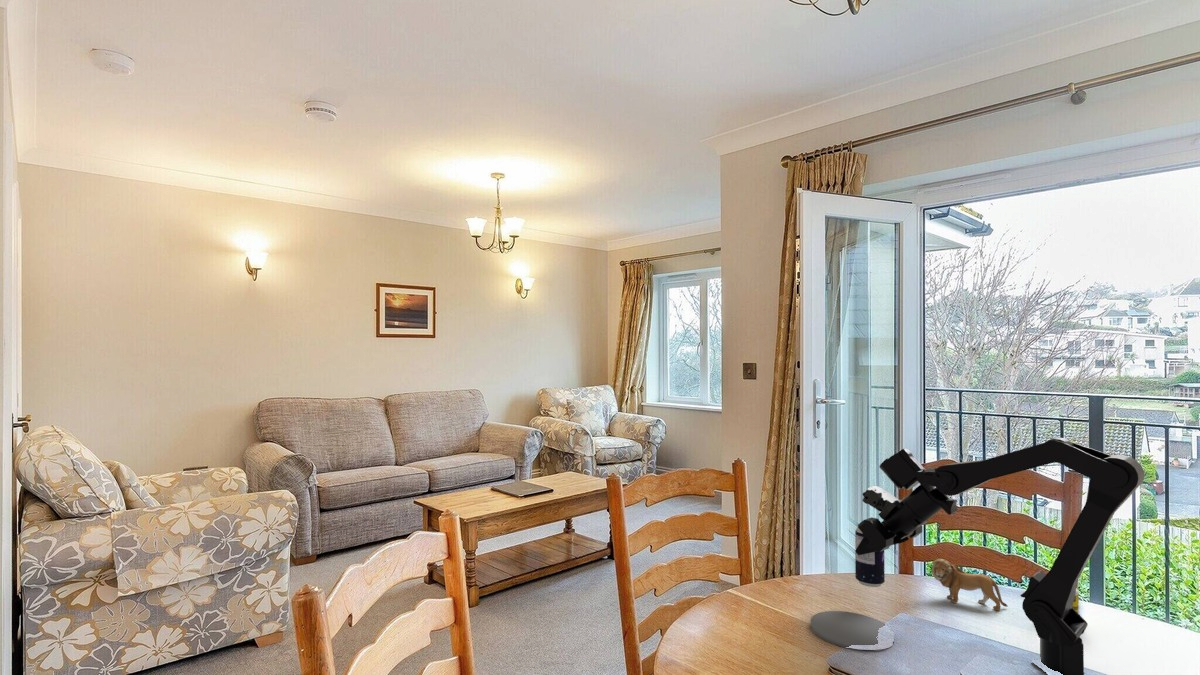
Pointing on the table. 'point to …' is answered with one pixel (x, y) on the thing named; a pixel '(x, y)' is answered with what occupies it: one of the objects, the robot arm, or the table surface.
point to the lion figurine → (965, 582)
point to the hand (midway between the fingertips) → (863, 550)
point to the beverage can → (869, 565)
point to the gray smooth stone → (846, 628)
